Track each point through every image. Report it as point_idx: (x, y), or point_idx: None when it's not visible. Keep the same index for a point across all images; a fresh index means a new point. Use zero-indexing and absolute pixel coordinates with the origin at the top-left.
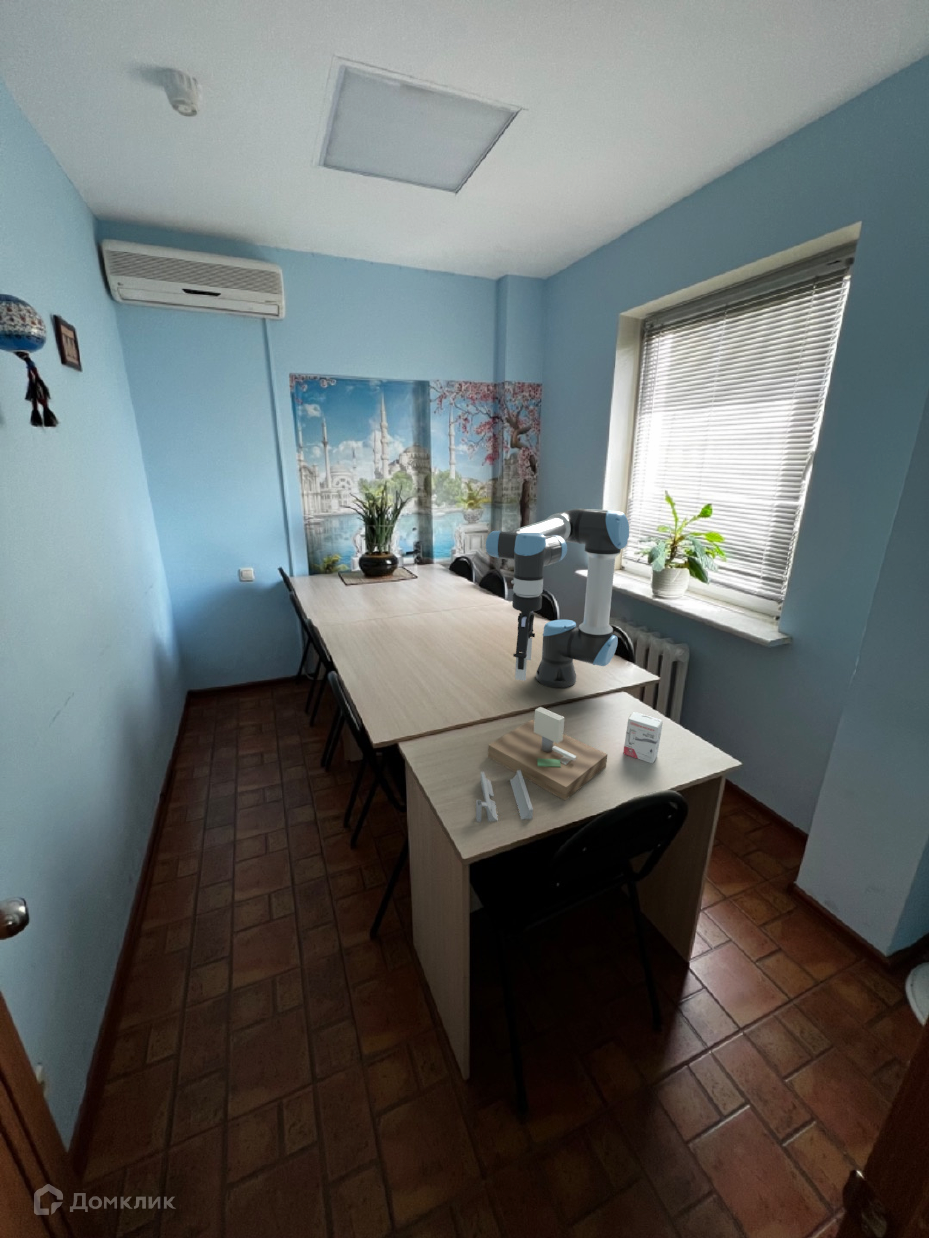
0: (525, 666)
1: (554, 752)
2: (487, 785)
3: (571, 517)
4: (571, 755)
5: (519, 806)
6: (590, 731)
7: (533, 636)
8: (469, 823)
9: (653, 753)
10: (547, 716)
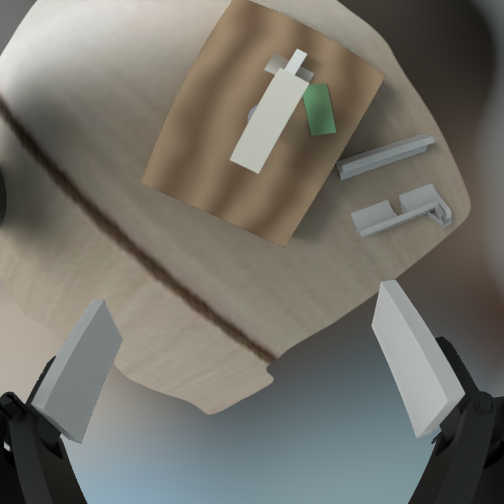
0: (433, 342)
1: None
2: (373, 216)
3: None
4: (298, 59)
5: (404, 155)
6: (110, 60)
7: (15, 400)
8: None
9: None
10: (284, 125)
